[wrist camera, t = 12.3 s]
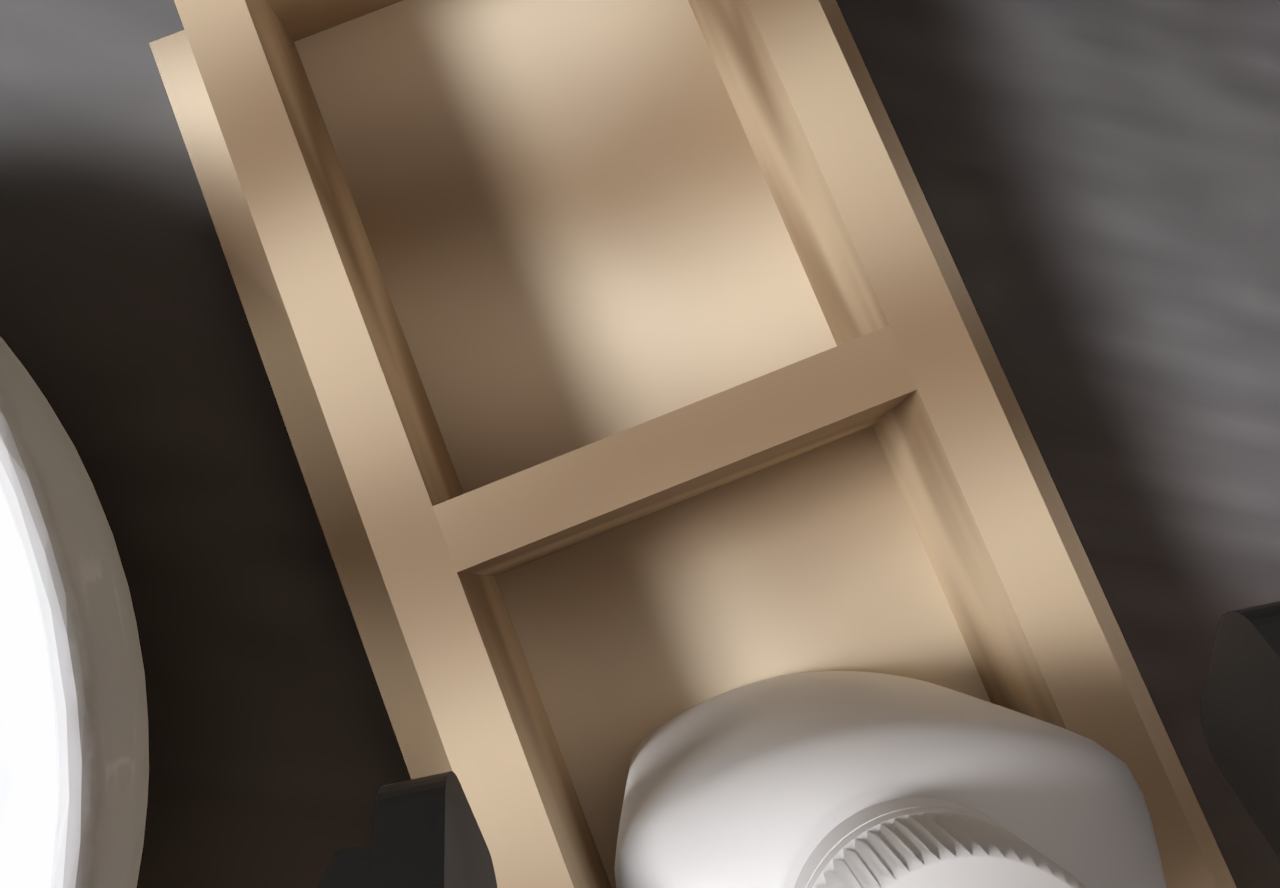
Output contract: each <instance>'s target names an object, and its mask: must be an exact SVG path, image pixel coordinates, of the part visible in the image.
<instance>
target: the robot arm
mask: <svg viewBox="0 0 1280 888" xmlns="http://www.w3.org/2000/svg"><path fill="white" fill-rule="evenodd" d="M1200 716H1201V724H1202V729H1203V732H1204V736H1205V739H1206V742H1207V745H1208V747H1209V750H1210V752H1211V754H1212V756H1213V758H1214V760H1215V762H1216V763H1217V765H1218V767H1219V768H1220V770H1221V771H1222V773H1223V774H1224V776H1225V777H1226V779H1227V780H1228V782H1229V783H1230V785H1231V786H1232V788H1233V789H1234V791H1235V792H1236V794H1237V795H1238V797H1239V799H1240V800H1241V802H1242V803H1243V805H1244V806H1245V808H1246V809H1247V811H1248V812H1249V814H1250V815H1251V817H1252V818H1253V820H1254V821H1255V823H1256V824H1257V826H1258V827H1259V829H1260V830H1261V832H1262V833H1263V835H1264V837H1265V838H1266V840H1267V841H1268V843H1269V844H1270V846H1271V847H1272V849H1273V850H1274V852H1275V853H1276V855H1277V856H1278V858H1279V859H1280V601H1279V602H1274V603H1269V604H1264V605H1259V606H1255V607H1250V608H1245V609H1240V610H1235V611H1231V612H1228V613H1226V614H1224V615H1223V616H1222V618H1221V620H1220V622H1219V626H1218V630H1217V634H1216V639H1215V643H1214V647H1213V652H1212V656H1211V660H1210V665H1209V669H1208V673H1207V678H1206V682H1205V686H1204V691H1203V695H1202V699H1201V705H1200ZM318 888H497V882H496V876H495V871H494V866H493V862H492V858H491V855H490V852H489V849H488V847H487V845H486V842H485V840H484V838H483V835H482V833H481V831H480V828H479V826H478V824H477V821H476V819H475V817H474V814H473V812H472V810H471V807H470V805H469V803H468V800H467V798H466V796H465V793H464V791H463V789H462V786H461V784H460V782H459V780H458V778H457V776H456V774H455V773H454V772H453V771H449V772H444V773H440V774H435V775H430V776H425V777H420V778H416V779H411V780H406V781H401V782H397V783H392V784H387V785H383V786H381V787H380V789H379V791H378V794H377V798H376V804H375V816H374V829H373V843H372V844H370V845H365V846H360V847H356V848H351V849H346V850H341V851H337V852H336V853H335V855H334V857H333V859H332V861H331V863H330V865H329V867H328V869H327V871H326V873H325V875H324V877H323V879H322V881H321V883H320V885H319V887H318Z"/></svg>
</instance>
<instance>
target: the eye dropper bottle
mask: <svg viewBox="0 0 1280 888" xmlns="http://www.w3.org/2000/svg"><path fill="white" fill-rule="evenodd" d="M614 871H615V880H616V888H1166V883H1165V878H1164V873H1163V868H1162V864H1161V859H1160V854H1159V850H1158V846H1157V841H1156V837H1155V833H1154V829H1153V825H1152V821H1151V818H1150V815H1149V811H1148V808H1147V805H1146V802H1145V798H1144V795H1143V793H1142V791H1141V789H1140V787H1139V785H1138V783H1137V782H1136V780H1135V778H1134V777H1133V775H1132V773H1131V771H1130V770H1129V768H1128V766H1127V764H1126V763H1124V762H1123V761H1122V760H1120V759H1119V758H1118V757H1116V756H1115V755H1114V754H1112V753H1111V752H1109V751H1108V750H1106V749H1105V748H1103V747H1102V746H1100V745H1099V744H1097V743H1096V742H1094V741H1093V740H1091V739H1088V738H1086V737H1084V736H1081V735H1079V734H1076V733H1074V732H1071V731H1069V730H1066V729H1064V728H1062V727H1059V726H1056V725H1053V724H1051V723H1048V722H1045V721H1042V720H1039V719H1036V718H1034V717H1031V716H1028V715H1025V714H1022V713H1019V712H1016V711H1014V710H1011V709H1008V708H1005V707H1002V706H999V705H996V704H993V703H990V702H987V701H984V700H981V699H978V698H975V697H973V696H970V695H967V694H964V693H961V692H958V691H955V690H952V689H949V688H945V687H942V686H939V685H936V684H933V683H930V682H926V681H922V680H917V679H913V678H908V677H903V676H897V675H890V674H883V673H873V672H861V671H821V672H808V673H799V674H792V675H785V676H780V677H775V678H771V679H766V680H762V681H759V682H755V683H751V684H748V685H745V686H742V687H739V688H736V689H733V690H730V691H727V692H725V693H722V694H720V695H717V696H715V697H712V698H710V699H708V700H706V701H704V702H702V703H700V704H698V705H695V706H694V707H692V708H690V709H688V710H686V711H684V712H683V713H681V714H679V715H677V716H675V717H674V718H672V719H671V720H669V721H668V722H666V723H664V724H663V725H661V726H660V727H658V728H657V729H656V730H654V731H653V732H652V733H650V734H649V735H648V736H647V737H645V738H644V739H643V740H642V742H641V743H640V744H639V746H638V747H637V749H636V750H635V751H634V753H633V755H632V758H631V763H630V768H629V773H628V778H627V783H626V788H625V794H624V800H623V806H622V812H621V817H620V824H619V831H618V839H617V846H616V857H615V867H614Z"/></svg>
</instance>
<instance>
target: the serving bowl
mask: <svg viewBox="0 0 1280 888" xmlns="http://www.w3.org/2000/svg"><path fill="white" fill-rule="evenodd" d="M148 783H149V732H148V711H147V697H146V683H145V672H144V665H143V659H142V653H141V647H140V641H139V635H138V629H137V623H136V618H135V614H134V609H133V605H132V600H131V595H130V591H129V586H128V583H127V580H126V576H125V573H124V570H123V566H122V563H121V560H120V556H119V553H118V550H117V547H116V543H115V540H114V537H113V533H112V531H111V528H110V526H109V523H108V521H107V518H106V516H105V513H104V511H103V509H102V506H101V504H100V501H99V499H98V496H97V494H96V491H95V489H94V486H93V484H92V482H91V480H90V478H89V475H88V473H87V471H86V469H85V467H84V465H83V463H82V461H81V459H80V456H79V454H78V452H77V450H76V448H75V446H74V444H73V443H72V441H71V439H70V438H69V436H68V434H67V433H66V431H65V429H64V428H63V426H62V424H61V422H60V421H59V419H58V417H57V416H56V414H55V412H54V411H53V409H52V407H51V406H50V404H49V402H48V401H47V399H46V398H45V396H44V395H43V393H42V392H41V390H40V389H39V387H38V386H37V385H36V383H35V382H34V380H33V379H32V377H31V376H30V374H29V373H28V371H27V370H26V369H25V367H24V366H23V365H22V364H21V362H20V361H19V360H18V358H17V357H16V356H15V354H14V353H13V352H12V350H11V349H10V348H9V346H8V345H7V344H6V342H5V341H4V340H3V339H2V337H1V336H0V888H137V882H138V876H139V870H140V863H141V857H142V851H143V844H144V833H145V823H146V813H147V803H148Z"/></svg>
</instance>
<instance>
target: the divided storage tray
mask: <svg viewBox="0 0 1280 888" xmlns="http://www.w3.org/2000/svg"><path fill="white" fill-rule="evenodd" d="M174 2H175V4H176V7H177V10H178V13H179V16H180V18H181V21H182V24H183V27H184V29H185V30H182V31H180V32H177V33H174V34H172V35H169V36H167V37H164V38H161V39H159V40H156V41H153V42H151V43H149V44H150V47H151V50H152V52H153V55H154V58H155V61H156V64H157V66H158V69H159V72H160V75H161V78H162V80H163V83H164V86H165V89H166V92H167V94H168V97H169V100H170V103H171V106H172V109H173V111H174V114H175V117H176V120H177V123H178V125H179V128H180V131H181V134H182V137H183V139H184V142H185V145H186V148H187V151H188V153H189V156H190V159H191V162H192V165H193V168H194V170H195V173H196V176H197V179H198V182H199V184H200V187H201V190H202V193H203V196H204V198H205V201H206V204H207V207H208V210H209V212H210V215H211V218H212V221H213V224H214V227H215V229H216V232H217V235H218V238H219V241H220V243H221V246H222V249H223V252H224V255H225V257H226V260H227V263H228V266H229V269H230V271H231V274H232V277H233V280H234V283H235V286H236V288H237V291H238V294H239V297H240V300H241V302H242V305H243V308H244V311H245V314H246V316H247V319H248V322H249V325H250V328H251V331H252V333H253V336H254V339H255V342H256V345H257V347H258V350H259V353H260V356H261V359H262V361H263V364H264V367H265V370H266V373H267V375H268V378H269V381H270V384H271V387H272V390H273V392H274V395H275V398H276V401H277V404H278V406H279V409H280V412H281V415H282V418H283V420H284V423H285V426H286V429H287V432H288V434H289V437H290V440H291V443H292V446H293V449H294V451H295V454H296V457H297V460H298V463H299V465H300V468H301V471H302V474H303V477H304V479H305V482H306V485H307V488H308V491H309V493H310V496H311V499H312V502H313V505H314V508H315V510H316V513H317V516H318V519H319V522H320V524H321V527H322V530H323V533H324V536H325V538H326V541H327V544H328V547H329V550H330V552H331V555H332V558H333V561H334V564H335V567H336V569H337V572H338V575H339V578H340V581H341V583H342V586H343V589H344V592H345V595H346V597H347V600H348V603H349V606H350V609H351V612H352V614H353V617H354V620H355V623H356V626H357V628H358V631H359V634H360V637H361V640H362V642H363V645H364V648H365V651H366V654H367V656H368V659H369V662H370V665H371V668H372V671H373V673H374V676H375V679H376V682H377V685H378V687H379V690H380V693H381V696H382V699H383V701H384V704H385V707H386V710H387V713H388V715H389V718H390V721H391V724H392V727H393V730H394V732H395V735H396V738H397V741H398V744H399V746H400V749H401V752H402V755H403V758H404V760H405V763H406V766H407V769H408V772H409V774H410V777H411V779H416V778H420V777H425V776H430V775H435V774H440V773H444V772H449V771H453V772H454V773H455V774H456V776H457V778H458V780H459V782H460V784H461V786H462V789H463V791H464V793H465V796H466V798H467V800H468V803H469V805H470V807H471V810H472V812H473V814H474V817H475V819H476V821H477V824H478V826H479V828H480V831H481V833H482V835H483V838H484V840H485V842H486V845H487V847H488V849H489V852H490V855H491V858H492V862H493V866H494V871H495V876H496V882H497V888H616V880H615V871H614V867H615V857H616V846H617V839H618V831H619V824H620V817H621V812H622V806H623V800H624V794H625V788H626V783H627V778H628V773H629V768H630V763H631V758H632V755H633V753H634V751H635V750H636V749H637V747H638V746H639V744H640V743H641V742H642V740H643V739H644V738H645V737H647V736H648V735H649V734H650V733H652V732H653V731H654V730H656V729H657V728H658V727H660V726H661V725H663V724H664V723H666V722H668V721H669V720H671V719H672V718H674V717H675V716H677V715H679V714H681V713H683V712H684V711H686V710H688V709H690V708H692V707H694V706H695V705H698V704H700V703H702V702H704V701H706V700H708V699H710V698H712V697H715V696H717V695H720V694H722V693H725V692H727V691H730V690H733V689H736V688H739V687H742V686H745V685H748V684H751V683H755V682H759V681H762V680H766V679H771V678H775V677H780V676H785V675H792V674H799V673H808V672H821V671H861V672H873V673H883V674H890V675H897V676H903V677H908V678H913V679H917V680H922V681H926V682H930V683H933V684H936V685H939V686H942V687H945V688H949V689H952V690H955V691H958V692H961V693H964V694H967V695H970V696H973V697H975V698H978V699H981V700H984V701H987V702H990V703H993V704H996V705H999V706H1002V707H1005V708H1008V709H1011V710H1014V711H1016V712H1019V713H1022V714H1025V715H1028V716H1031V717H1034V718H1036V719H1039V720H1042V721H1045V722H1048V723H1051V724H1053V725H1056V726H1059V727H1062V728H1064V729H1066V730H1069V731H1071V732H1074V733H1076V734H1079V735H1081V736H1084V737H1086V738H1088V739H1091V740H1093V741H1094V742H1096V743H1097V744H1099V745H1100V746H1102V747H1103V748H1105V749H1106V750H1108V751H1109V752H1111V753H1112V754H1114V755H1115V756H1116V757H1118V758H1119V759H1120V760H1122V761H1123V762H1124V763H1126V764H1127V766H1128V768H1129V770H1130V771H1131V773H1132V775H1133V777H1134V778H1135V780H1136V782H1137V783H1138V785H1139V787H1140V789H1141V791H1142V793H1143V795H1144V798H1145V802H1146V805H1147V808H1148V811H1149V815H1150V818H1151V821H1152V825H1153V829H1154V833H1155V837H1156V841H1157V846H1158V850H1159V854H1160V859H1161V864H1162V868H1163V873H1164V878H1165V883H1166V888H1237V887H1236V885H1235V883H1234V881H1233V878H1232V876H1231V874H1230V872H1229V869H1228V867H1227V865H1226V863H1225V861H1224V858H1223V856H1222V854H1221V852H1220V850H1219V847H1218V845H1217V843H1216V841H1215V838H1214V836H1213V834H1212V832H1211V830H1210V827H1209V825H1208V823H1207V821H1206V819H1205V816H1204V814H1203V812H1202V810H1201V807H1200V805H1199V803H1198V801H1197V799H1196V796H1195V794H1194V792H1193V790H1192V788H1191V785H1190V783H1189V781H1188V779H1187V776H1186V774H1185V772H1184V770H1183V768H1182V765H1181V763H1180V761H1179V759H1178V757H1177V754H1176V752H1175V750H1174V748H1173V745H1172V743H1171V741H1170V739H1169V737H1168V734H1167V732H1166V730H1165V728H1164V726H1163V723H1162V721H1161V719H1160V717H1159V714H1158V712H1157V710H1156V708H1155V706H1154V703H1153V701H1152V699H1151V697H1150V695H1149V692H1148V690H1147V688H1146V686H1145V683H1144V681H1143V679H1142V677H1141V675H1140V672H1139V670H1138V668H1137V666H1136V664H1135V661H1134V659H1133V657H1132V655H1131V652H1130V650H1129V648H1128V646H1127V644H1126V641H1125V639H1124V637H1123V635H1122V633H1121V630H1120V628H1119V626H1118V624H1117V621H1116V619H1115V617H1114V615H1113V613H1112V610H1111V608H1110V606H1109V604H1108V602H1107V599H1106V597H1105V595H1104V593H1103V590H1102V588H1101V586H1100V584H1099V582H1098V579H1097V577H1096V575H1095V573H1094V571H1093V568H1092V566H1091V564H1090V562H1089V559H1088V557H1087V555H1086V553H1085V551H1084V548H1083V546H1082V544H1081V542H1080V540H1079V537H1078V535H1077V533H1076V531H1075V528H1074V526H1073V524H1072V522H1071V520H1070V517H1069V515H1068V513H1067V511H1066V509H1065V506H1064V504H1063V502H1062V500H1061V497H1060V495H1059V493H1058V491H1057V489H1056V486H1055V484H1054V482H1053V480H1052V478H1051V475H1050V473H1049V471H1048V469H1047V467H1046V464H1045V462H1044V460H1043V458H1042V455H1041V453H1040V451H1039V449H1038V447H1037V444H1036V442H1035V440H1034V438H1033V436H1032V433H1031V431H1030V429H1029V427H1028V424H1027V422H1026V420H1025V418H1024V416H1023V413H1022V411H1021V409H1020V407H1019V405H1018V402H1017V400H1016V398H1015V396H1014V393H1013V391H1012V389H1011V387H1010V385H1009V382H1008V380H1007V378H1006V376H1005V374H1004V371H1003V369H1002V367H1001V365H1000V362H999V360H998V358H997V356H996V354H995V351H994V349H993V347H992V345H991V343H990V340H989V338H988V336H987V334H986V331H985V329H984V327H983V325H982V323H981V320H980V318H979V316H978V314H977V312H976V309H975V307H974V305H973V303H972V300H971V298H970V296H969V294H968V292H967V289H966V287H965V285H964V283H963V281H962V278H961V276H960V274H959V272H958V269H957V267H956V265H955V263H954V261H953V258H952V256H951V254H950V252H949V250H948V247H947V245H946V243H945V241H944V238H943V236H942V234H941V232H940V230H939V227H938V225H937V223H936V221H935V219H934V216H933V214H932V212H931V210H930V207H929V205H928V203H927V201H926V199H925V196H924V194H923V192H922V190H921V188H920V185H919V183H918V181H917V179H916V176H915V174H914V172H913V170H912V168H911V165H910V163H909V161H908V159H907V157H906V154H905V152H904V150H903V148H902V145H901V143H900V141H899V139H898V137H897V134H896V132H895V130H894V128H893V126H892V123H891V121H890V119H889V117H888V114H887V112H886V110H885V108H884V106H883V103H882V101H881V99H880V97H879V95H878V92H877V90H876V88H875V86H874V83H873V81H872V79H871V77H870V75H869V72H868V70H867V68H866V66H865V64H864V61H863V59H862V57H861V55H860V52H859V50H858V48H857V46H856V44H855V41H854V39H853V37H852V35H851V33H850V30H849V28H848V26H847V24H846V22H845V19H844V17H843V15H842V13H841V10H840V8H839V6H838V4H837V2H836V0H174Z"/></svg>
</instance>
